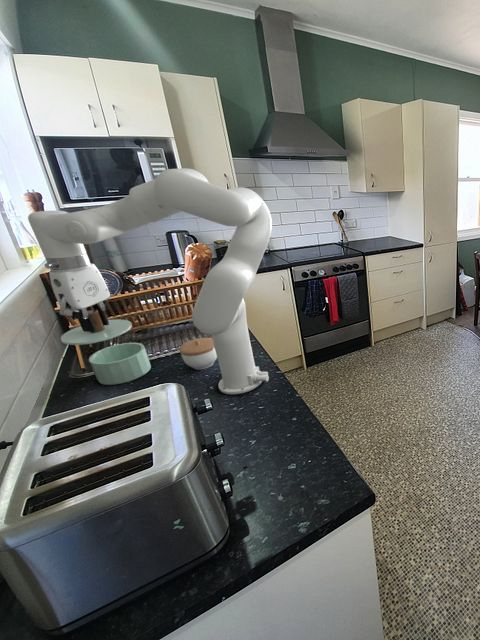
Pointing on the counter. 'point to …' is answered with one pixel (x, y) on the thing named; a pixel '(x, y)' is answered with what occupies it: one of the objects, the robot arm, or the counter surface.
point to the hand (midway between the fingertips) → (96, 327)
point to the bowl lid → (101, 333)
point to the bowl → (120, 363)
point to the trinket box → (198, 353)
